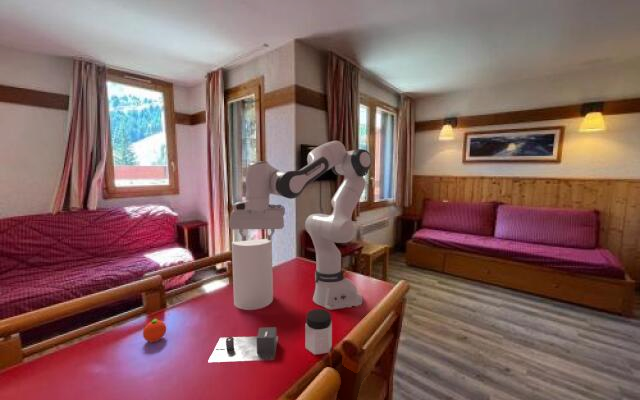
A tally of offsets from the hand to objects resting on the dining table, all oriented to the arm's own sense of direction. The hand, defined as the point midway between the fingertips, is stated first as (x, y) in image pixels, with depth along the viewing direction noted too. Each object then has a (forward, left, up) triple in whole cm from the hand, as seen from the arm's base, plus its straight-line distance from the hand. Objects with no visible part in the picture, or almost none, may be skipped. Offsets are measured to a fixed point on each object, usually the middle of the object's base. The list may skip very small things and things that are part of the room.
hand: (256, 240), depth 104 cm
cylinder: (+5, -16, -33) cm, 37 cm away
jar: (-23, +19, -33) cm, 44 cm away
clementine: (+34, +11, -33) cm, 48 cm away
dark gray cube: (-6, +19, -31) cm, 37 cm away
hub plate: (+1, +19, -32) cm, 37 cm away
